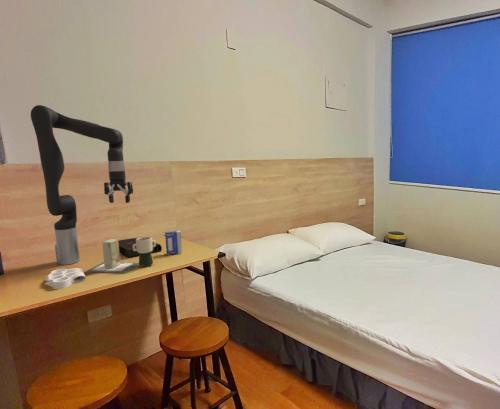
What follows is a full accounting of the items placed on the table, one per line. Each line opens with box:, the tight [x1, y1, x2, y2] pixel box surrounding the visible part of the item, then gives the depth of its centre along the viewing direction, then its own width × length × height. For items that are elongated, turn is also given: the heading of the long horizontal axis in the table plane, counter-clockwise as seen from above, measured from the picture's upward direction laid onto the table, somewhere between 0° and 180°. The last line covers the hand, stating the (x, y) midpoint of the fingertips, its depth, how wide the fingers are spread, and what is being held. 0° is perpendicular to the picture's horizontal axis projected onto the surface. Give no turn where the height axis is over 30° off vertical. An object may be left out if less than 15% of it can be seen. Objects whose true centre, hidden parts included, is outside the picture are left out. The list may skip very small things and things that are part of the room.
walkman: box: [164, 230, 183, 256], centre depth 168 cm, size 8×3×12 cm, turn 103°
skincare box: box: [101, 238, 121, 268], centre depth 149 cm, size 6×4×12 cm
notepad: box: [85, 261, 139, 274], centre depth 150 cm, size 19×13×1 cm
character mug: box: [133, 236, 157, 267], centre depth 151 cm, size 11×7×13 cm, turn 130°
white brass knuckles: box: [43, 267, 87, 290], centre depth 135 cm, size 3×18×15 cm
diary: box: [118, 236, 163, 259], centre depth 178 cm, size 19×25×5 cm
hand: (119, 202), depth 163 cm, fingers open, 8 cm apart
